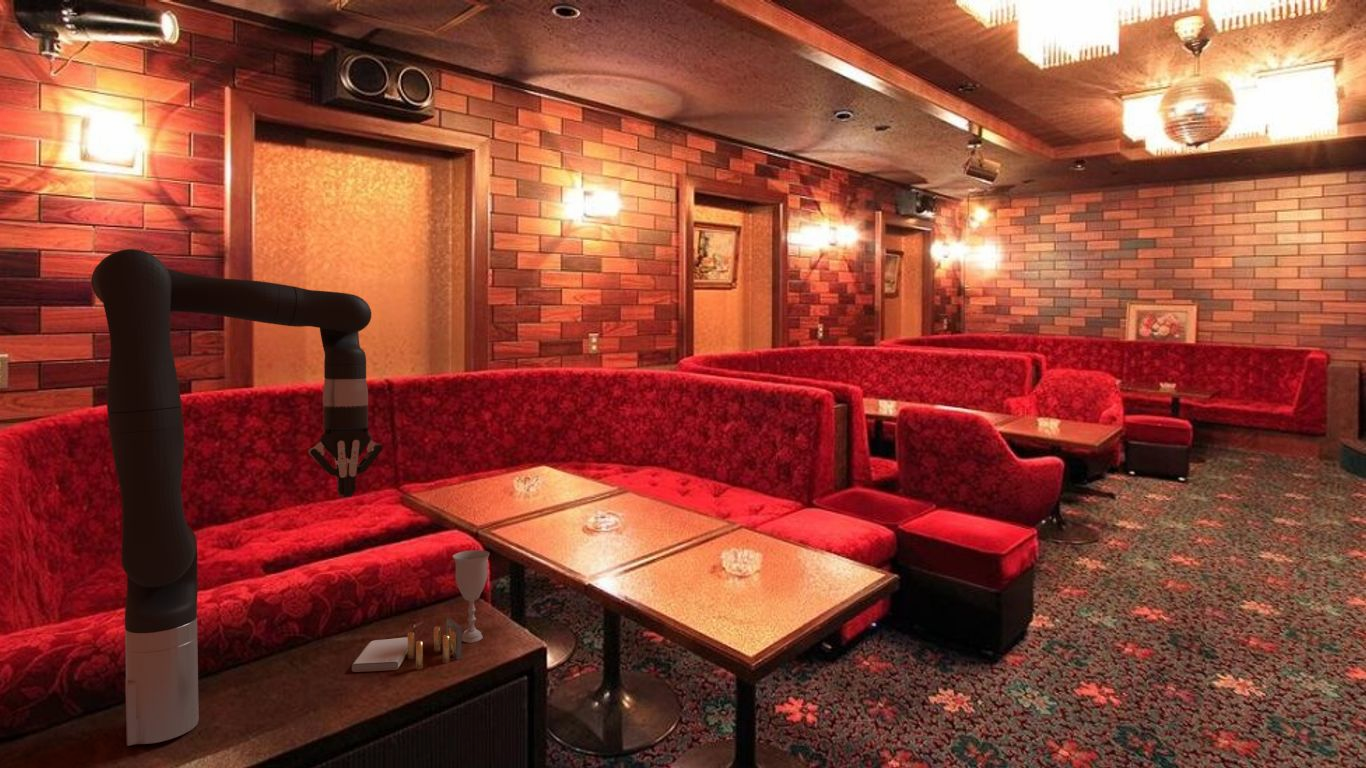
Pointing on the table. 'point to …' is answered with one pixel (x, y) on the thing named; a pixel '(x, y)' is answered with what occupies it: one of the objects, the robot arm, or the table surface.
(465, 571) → the chalice
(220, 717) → the table surface
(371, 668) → the external hard drive
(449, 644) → the candles
